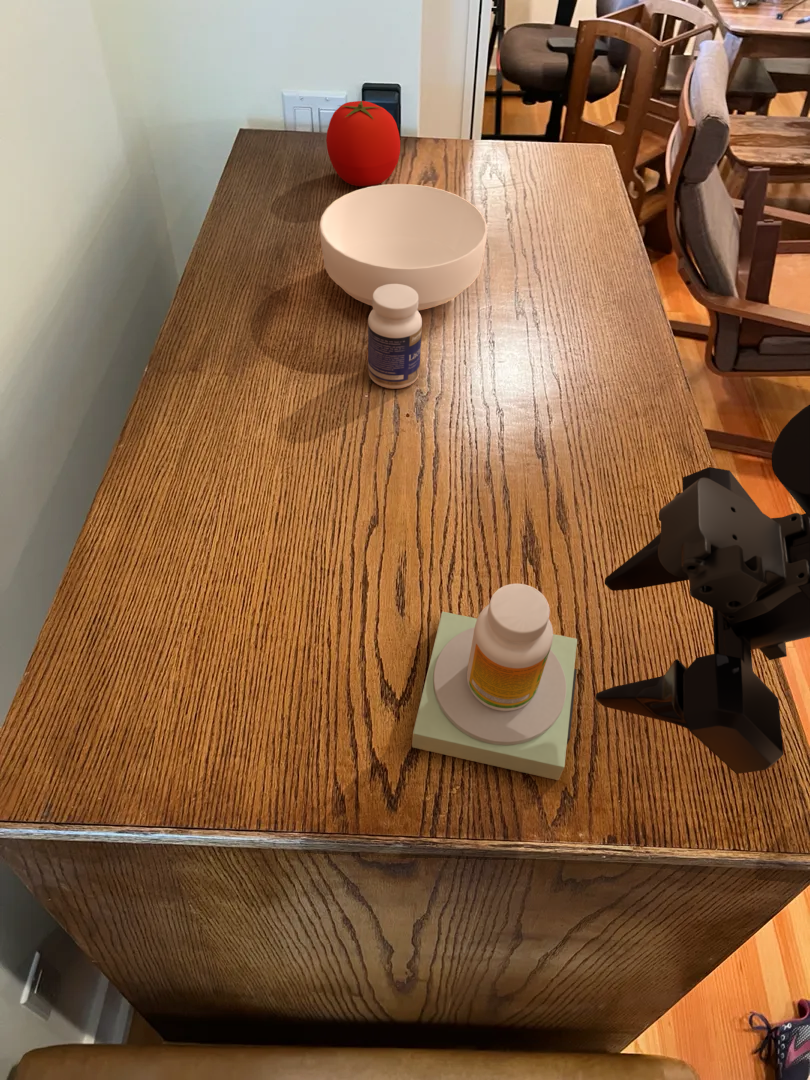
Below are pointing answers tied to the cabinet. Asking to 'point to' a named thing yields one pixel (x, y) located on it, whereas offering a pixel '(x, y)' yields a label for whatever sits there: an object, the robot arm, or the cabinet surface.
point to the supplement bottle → (510, 647)
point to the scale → (490, 734)
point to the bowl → (403, 242)
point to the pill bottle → (394, 336)
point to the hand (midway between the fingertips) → (603, 639)
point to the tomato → (363, 143)
